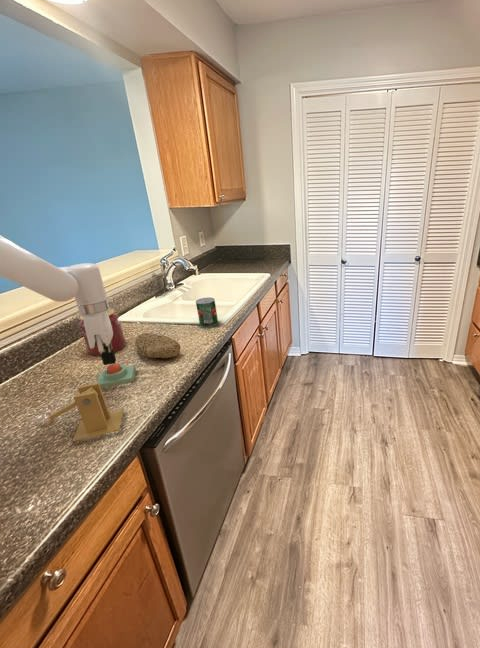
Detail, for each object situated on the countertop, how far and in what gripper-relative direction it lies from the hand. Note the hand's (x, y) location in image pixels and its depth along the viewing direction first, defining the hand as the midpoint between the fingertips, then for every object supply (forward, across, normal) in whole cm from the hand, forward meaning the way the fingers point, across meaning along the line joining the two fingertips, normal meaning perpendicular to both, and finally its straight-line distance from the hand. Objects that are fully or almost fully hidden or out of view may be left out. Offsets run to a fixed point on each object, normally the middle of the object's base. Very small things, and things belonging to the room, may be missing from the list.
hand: (110, 362), depth 100 cm
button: (+3, 0, +1) cm, 3 cm away
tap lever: (+1, +23, -5) cm, 23 cm away
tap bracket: (+7, +23, 0) cm, 24 cm away
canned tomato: (+6, -34, +33) cm, 48 cm away
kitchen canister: (+7, -28, -6) cm, 30 cm away
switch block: (+7, 0, +1) cm, 7 cm away
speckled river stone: (+7, -14, +13) cm, 20 cm away
